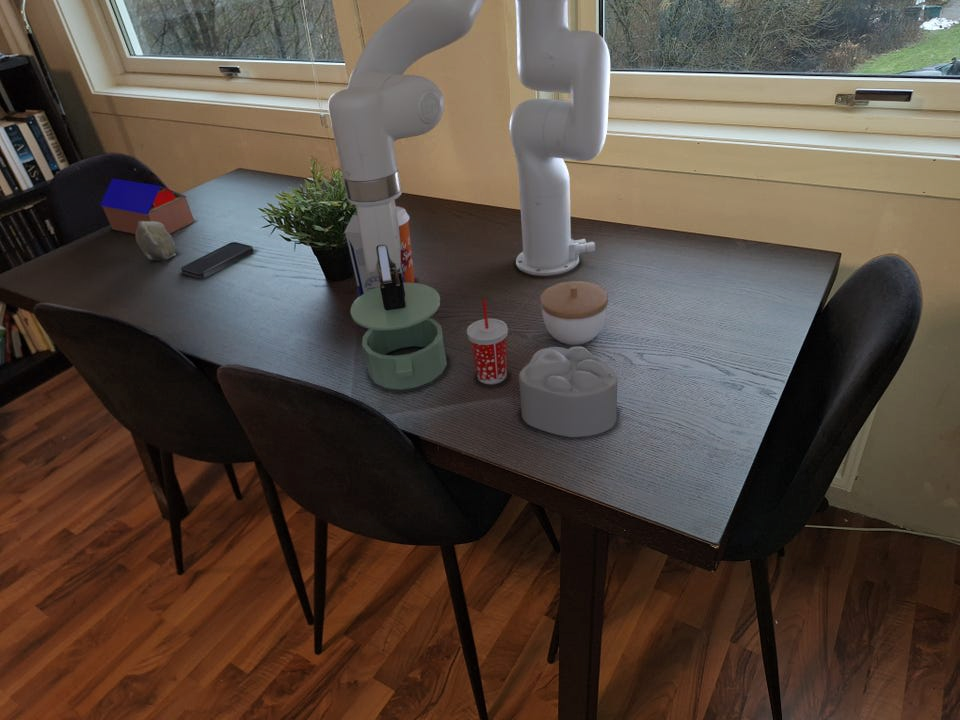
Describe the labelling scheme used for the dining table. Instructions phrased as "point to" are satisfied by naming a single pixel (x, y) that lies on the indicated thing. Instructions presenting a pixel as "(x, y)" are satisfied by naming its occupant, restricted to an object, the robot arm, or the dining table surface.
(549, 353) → the lumpy-topped squat cylinder
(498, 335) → the beverage cup
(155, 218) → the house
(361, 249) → the milk carton
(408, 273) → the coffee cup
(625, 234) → the dining table surface
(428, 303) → the lid
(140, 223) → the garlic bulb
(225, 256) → the phone
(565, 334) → the trinket box
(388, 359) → the pot
